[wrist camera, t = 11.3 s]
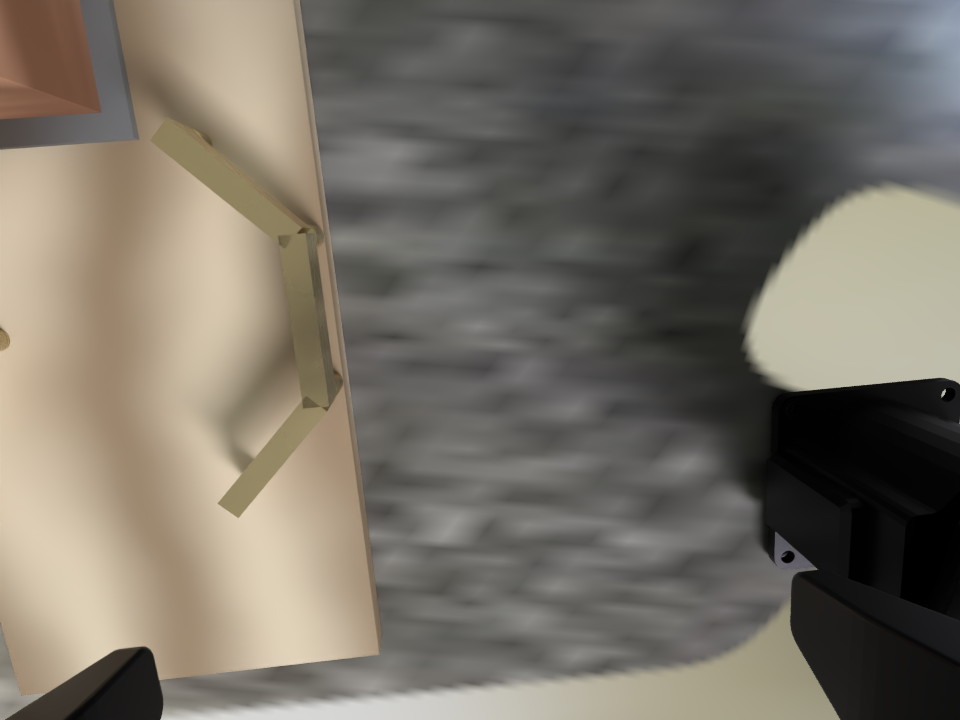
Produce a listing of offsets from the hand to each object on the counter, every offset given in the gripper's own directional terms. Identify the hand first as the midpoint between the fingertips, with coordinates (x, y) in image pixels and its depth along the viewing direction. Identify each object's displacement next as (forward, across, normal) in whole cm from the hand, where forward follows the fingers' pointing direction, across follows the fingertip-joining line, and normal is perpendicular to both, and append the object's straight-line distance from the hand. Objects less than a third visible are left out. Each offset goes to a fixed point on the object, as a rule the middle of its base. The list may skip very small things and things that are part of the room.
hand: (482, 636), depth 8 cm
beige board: (+12, +10, -4) cm, 16 cm away
